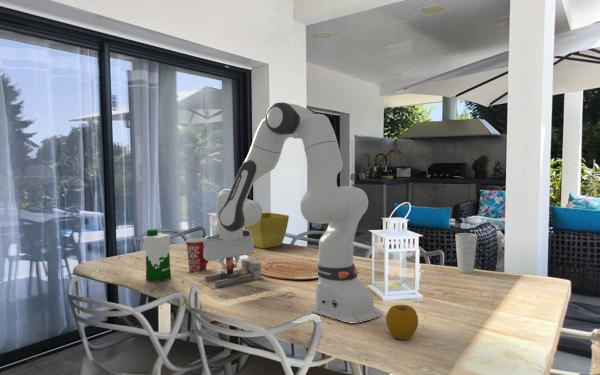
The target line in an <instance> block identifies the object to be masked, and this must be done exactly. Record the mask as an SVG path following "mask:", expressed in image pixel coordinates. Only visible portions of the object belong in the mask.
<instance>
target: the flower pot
mask: <svg viewBox="0 0 600 375" xmlns="http://www.w3.org/2000/svg"><path fill="white" fill-rule="evenodd" d="M289 218H290V215H288V214H280V213H277V212H262V217H261V219H260V221H259V222H258V223H256V224H254V225H251V226H248V227H244V229H247V230H250V231H252V235H251V237H252V238H253V243H254V248H256V247H257V248H260V249H267V248H269V249H270V248H274V247H280V246H282V245H283V242H284V239H285V236H286V233H287V230H288V224H289Z"/></svg>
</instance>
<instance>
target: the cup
mask: <svg viewBox="0 0 600 375" xmlns="http://www.w3.org/2000/svg"><path fill="white" fill-rule="evenodd" d="M477 241H478V235H477V233H476V234H475V233H472V232H471V233H469V232H458V233H455V249H456V260H457V271H458V273H461V274H473V273H474V271H475V260H476V251H477V243H478V242H477Z"/></svg>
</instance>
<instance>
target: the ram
mask: <svg viewBox="0 0 600 375" xmlns="http://www.w3.org/2000/svg"><path fill="white" fill-rule="evenodd" d="M233 263H234V257H230V258H225V264H226V265H227V269H226V270H220V273H221V279H228V278H233V277H238V276H239V273H238V272H235V271H233V270H234V268H233Z"/></svg>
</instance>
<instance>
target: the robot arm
mask: <svg viewBox="0 0 600 375" xmlns="http://www.w3.org/2000/svg"><path fill="white" fill-rule="evenodd" d="M289 138H292V139H301V140H302V145H303V148H304V153H305V158H306V161H307V167H308V174H309V175H308V176H309V178H308V179H309V181H308V188H307V190H306V191H305V193H304V195H303V196H302V198H301V201H300V212H301V215H302V217H303V218H304V219H305V220H306V222H308V223H311V224H312V223H313V224H319V225H320V224H322V225H323V224H328V225H327V228H326V230H325V232H324V233H323V234H322V235H321V236H320V238H319V241H318V263H317V269H316V270H317V275H318V279H317V284H316V289H315V297H314V298H315V300H314V307H313V308H312V313H313V314H316V315H319V314H320V315H319V316H322V315H325V316H328V317H332V318H336V319H340V320H343V321H347V322H360V321H365V320H369V319H372V318H375V317H378V316H379V315H380V314H381V313H382V310H381V309H379V308H377V307H375V304H374V298H373V295H372V293H371V291H370V290H369V289H368V288H367V287H366V286H365V285H364V283H363V282H362V281H361V280H360V279H359V277H358V273H360V268H357V269H356V265H355V263H354V241H355V236H356V232H357V228H358V225H359V222H360V220H361V219H362V217H363V215H364V214H365V213H366V212H367V210H368V208H369V207H368V206H369V198H368V195H367V193H366V192H365V191H364V190H363V189H362V188H359V187H356V186H350V185H346V186H338V180H337V179H338V174H339V173H340V172H341V170H342V169H343V166H344V162H343V158H342V155H341V150H340V147H339V143H338V140H337V136H336V133H335V130H334V128H333V125H332V123H331V121H330V120H329V118H328V116H326V115H325V114H322V113H317V112H316V111H314V110H313V109H311V108H308V107H304V106H301V105H298V104H295V103H288V102H275V103H272V104H271V105H270V106H269V107H268V109H267V110H266V113H265V117H264V118H263V119H261V121H260V122H259V125H258V127H257V129H256V131H255V133H254V136H253V139H252V142H251V145H250V148H249V150H248V152H247V153H248V154H247V155H246V158H245V159H244V161H243V163H242V165H241V166H240V168H239V170H238V171H237V174H236V177H235V179H234V181H233V184H232V186H231V189H230V190H229V191H225V192H220V193H219V194H218V195H217V196H216V202H215V205H216V206H215V215H216V219H217V221H216V234H212V235H206V237H204V240H203V245H204V250H203V258H204V259H205V260H207V261H208V262H211V261H217V260H218V262H219V263H220V264H221V269H222V271H224V270H226V269H227V265H226V263H225V262H226V258H230V257H233V269H235V268H238V262H240V261H239V260H240V259H241V256H247V255H252V254H253V253H254V251H255V246H254V243H253V238H252V237H251V235H252V231H250V230H247V229H245V228H244V227H248V226H251V225H254V224H256V223H258V222H259V221H260V219H261V217H262V213H263V211H262V210H263V209H262V207H261V204H259V202H257V201H256V200H253V199H252V200H251V199H249V198H248V196H249V194H250V191H251V188H252V186H253V185H254V183H255V182H256V181H257V180H258V179H260V178H261V177H263V176H265V175H266V174H268V173H271V171H273V170H274V169H275V168H276V166H277V164H278V163H279V161H280V158H281V155H282V151H283V148H284V144H285V143H286V140H288V139H289ZM317 313H318V314H317ZM381 315H382V314H381ZM381 315H380V316H381ZM325 316H324V317H325ZM380 316H379V317H380ZM328 317H327V318H328ZM379 317H378V318H379ZM332 318H331V319H332ZM375 319H376V318H375Z"/></svg>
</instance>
